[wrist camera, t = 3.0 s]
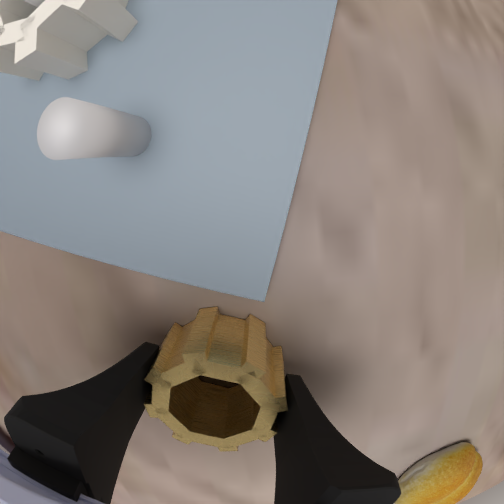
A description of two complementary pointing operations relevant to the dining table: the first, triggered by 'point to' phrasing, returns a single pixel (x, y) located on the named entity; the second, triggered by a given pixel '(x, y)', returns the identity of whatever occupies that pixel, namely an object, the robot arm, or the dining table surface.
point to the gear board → (170, 141)
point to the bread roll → (441, 476)
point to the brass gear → (224, 368)
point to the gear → (57, 34)
